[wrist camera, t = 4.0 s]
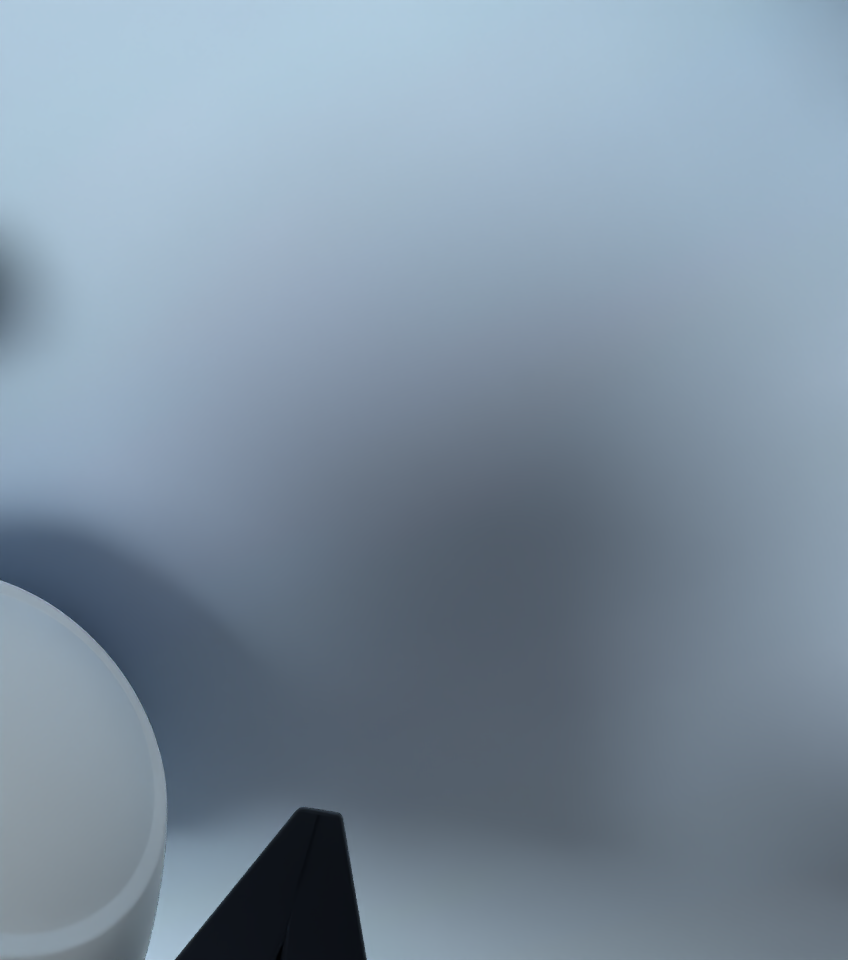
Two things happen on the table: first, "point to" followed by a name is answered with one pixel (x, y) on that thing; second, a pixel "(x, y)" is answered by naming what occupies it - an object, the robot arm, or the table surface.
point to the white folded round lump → (73, 794)
